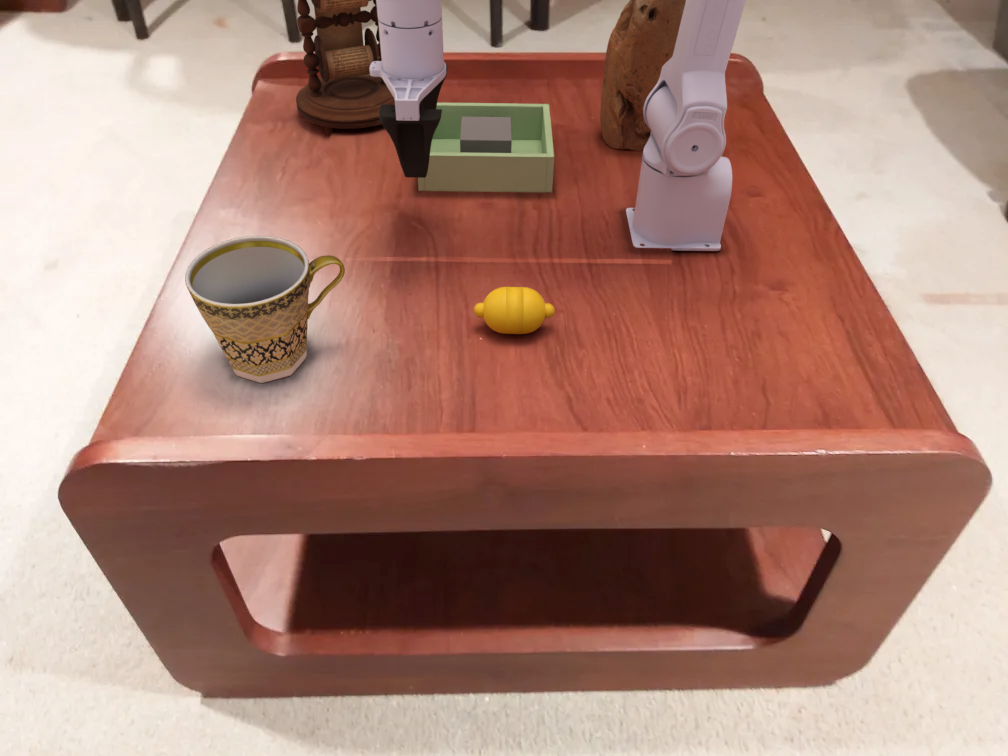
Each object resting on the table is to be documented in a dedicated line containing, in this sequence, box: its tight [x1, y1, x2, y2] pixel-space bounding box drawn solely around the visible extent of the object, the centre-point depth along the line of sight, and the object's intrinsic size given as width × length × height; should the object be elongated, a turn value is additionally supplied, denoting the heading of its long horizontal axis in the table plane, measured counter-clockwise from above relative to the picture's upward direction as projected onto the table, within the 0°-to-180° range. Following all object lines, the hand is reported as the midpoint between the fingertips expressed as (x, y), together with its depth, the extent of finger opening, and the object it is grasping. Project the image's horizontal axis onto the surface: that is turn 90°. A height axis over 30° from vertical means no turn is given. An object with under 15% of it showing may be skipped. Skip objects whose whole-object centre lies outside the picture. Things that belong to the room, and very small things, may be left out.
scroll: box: [295, 0, 395, 136], centre depth 104 cm, size 15×15×20 cm
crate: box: [417, 102, 555, 193], centre depth 99 cm, size 16×14×5 cm
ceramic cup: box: [184, 235, 346, 384], centre depth 72 cm, size 13×10×10 cm
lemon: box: [473, 286, 556, 335], centre depth 77 cm, size 8×4×4 cm, turn 90°
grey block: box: [460, 117, 512, 153], centre depth 99 cm, size 6×6×4 cm
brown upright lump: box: [599, 0, 686, 152], centre depth 99 cm, size 11×8×20 cm
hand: (419, 156), depth 82 cm, fingers open, 7 cm apart
